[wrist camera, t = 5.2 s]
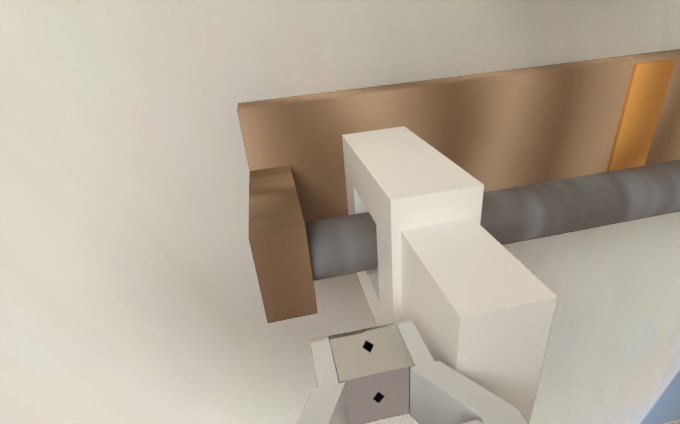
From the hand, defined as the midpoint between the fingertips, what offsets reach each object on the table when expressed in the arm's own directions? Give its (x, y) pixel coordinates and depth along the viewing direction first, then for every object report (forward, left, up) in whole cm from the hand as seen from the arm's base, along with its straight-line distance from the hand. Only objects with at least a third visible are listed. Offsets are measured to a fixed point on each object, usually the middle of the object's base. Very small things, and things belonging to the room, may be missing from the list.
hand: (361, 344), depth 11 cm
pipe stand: (0, +13, -12) cm, 18 cm away
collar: (0, +3, -9) cm, 10 cm away
